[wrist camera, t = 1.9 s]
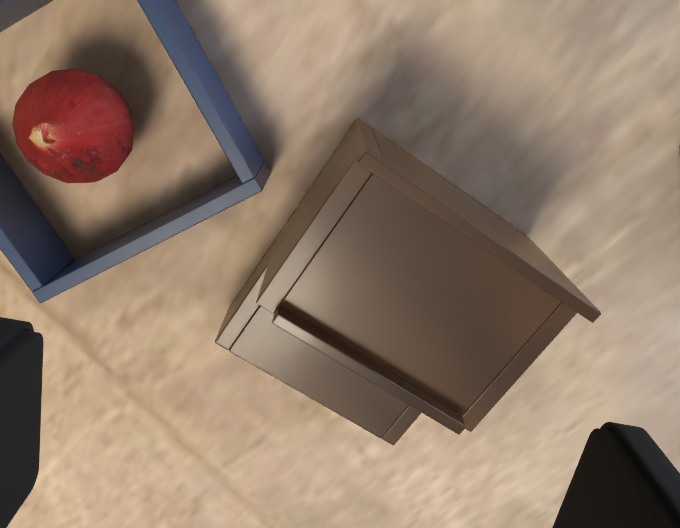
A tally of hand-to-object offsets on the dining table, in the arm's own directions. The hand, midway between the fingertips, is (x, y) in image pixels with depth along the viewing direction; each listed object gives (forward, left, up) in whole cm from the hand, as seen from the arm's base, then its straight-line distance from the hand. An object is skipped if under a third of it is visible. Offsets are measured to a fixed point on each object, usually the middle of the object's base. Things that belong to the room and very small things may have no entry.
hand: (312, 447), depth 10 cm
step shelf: (+8, -1, -28) cm, 29 cm away
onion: (-8, -11, -28) cm, 31 cm away
